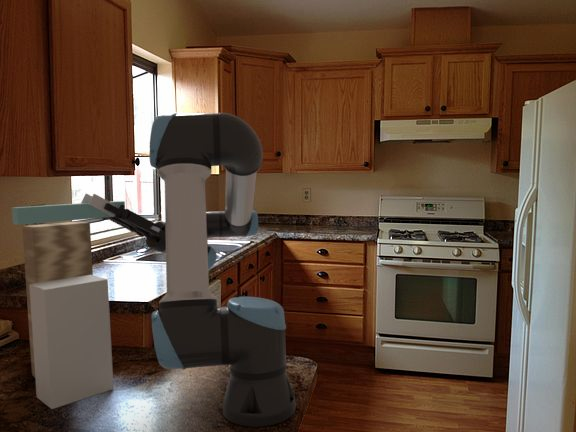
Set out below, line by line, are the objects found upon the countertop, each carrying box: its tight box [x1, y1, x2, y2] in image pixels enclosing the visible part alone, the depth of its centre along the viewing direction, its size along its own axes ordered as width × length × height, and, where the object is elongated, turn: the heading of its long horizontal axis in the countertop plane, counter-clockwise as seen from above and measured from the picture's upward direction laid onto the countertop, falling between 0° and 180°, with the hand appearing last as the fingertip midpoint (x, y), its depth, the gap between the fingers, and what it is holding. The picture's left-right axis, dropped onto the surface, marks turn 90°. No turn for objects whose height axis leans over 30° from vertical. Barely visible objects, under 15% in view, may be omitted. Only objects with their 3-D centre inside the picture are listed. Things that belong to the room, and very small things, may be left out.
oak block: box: [21, 221, 94, 378], centre depth 130 cm, size 14×7×38 cm, turn 135°
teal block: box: [11, 200, 126, 226], centre depth 116 cm, size 24×4×4 cm, turn 135°
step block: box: [29, 275, 114, 410], centre depth 117 cm, size 14×9×26 cm, turn 135°
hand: (87, 199), depth 118 cm, fingers closed on teal block, 3 cm apart
